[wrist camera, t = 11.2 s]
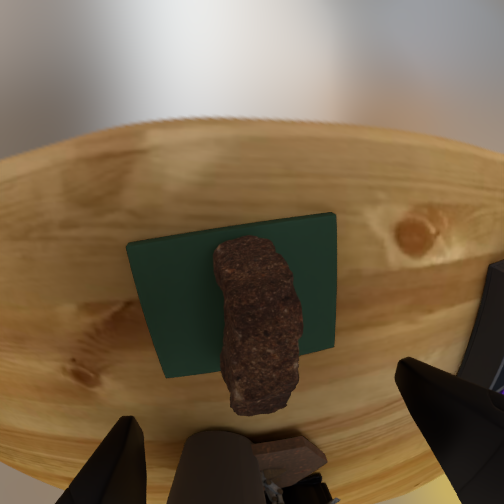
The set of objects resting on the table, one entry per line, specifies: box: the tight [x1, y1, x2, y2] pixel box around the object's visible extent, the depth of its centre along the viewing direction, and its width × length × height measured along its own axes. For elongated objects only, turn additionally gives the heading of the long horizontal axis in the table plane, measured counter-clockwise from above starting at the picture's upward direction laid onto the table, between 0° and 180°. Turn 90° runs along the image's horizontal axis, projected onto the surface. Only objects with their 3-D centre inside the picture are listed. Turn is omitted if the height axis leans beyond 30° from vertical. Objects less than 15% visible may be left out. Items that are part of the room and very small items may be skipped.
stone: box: [213, 235, 303, 416], centre depth 13 cm, size 8×3×5 cm, turn 3°
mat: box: [126, 212, 337, 378], centre depth 15 cm, size 10×8×1 cm
